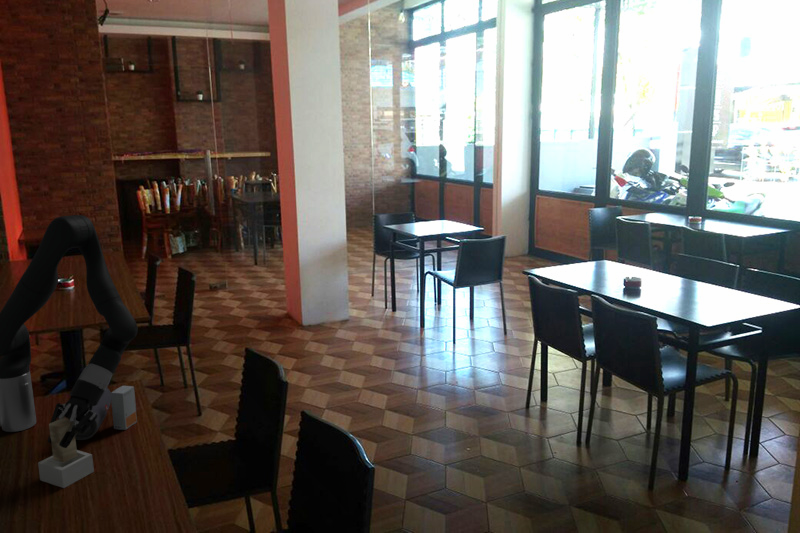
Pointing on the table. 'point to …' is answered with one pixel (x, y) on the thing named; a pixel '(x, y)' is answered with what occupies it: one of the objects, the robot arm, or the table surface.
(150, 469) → the table surface
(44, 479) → the socket stand
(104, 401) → the bluetooth speaker
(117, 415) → the skincare box
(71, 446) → the birch peg
